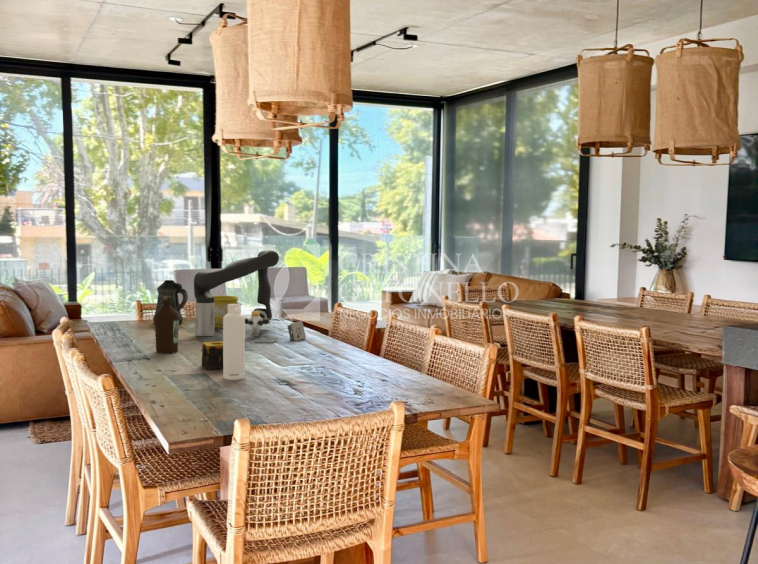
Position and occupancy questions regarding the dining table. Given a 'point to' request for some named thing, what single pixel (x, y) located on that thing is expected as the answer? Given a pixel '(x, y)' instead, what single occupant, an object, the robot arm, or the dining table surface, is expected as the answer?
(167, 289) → the beer stein
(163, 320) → the olive oil
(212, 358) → the yellow black spotted box
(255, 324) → the canister
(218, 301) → the flowerpot
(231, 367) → the bottle
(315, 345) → the dining table surface
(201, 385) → the dining table surface
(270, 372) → the dining table surface
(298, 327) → the electrical switch
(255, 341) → the mat
